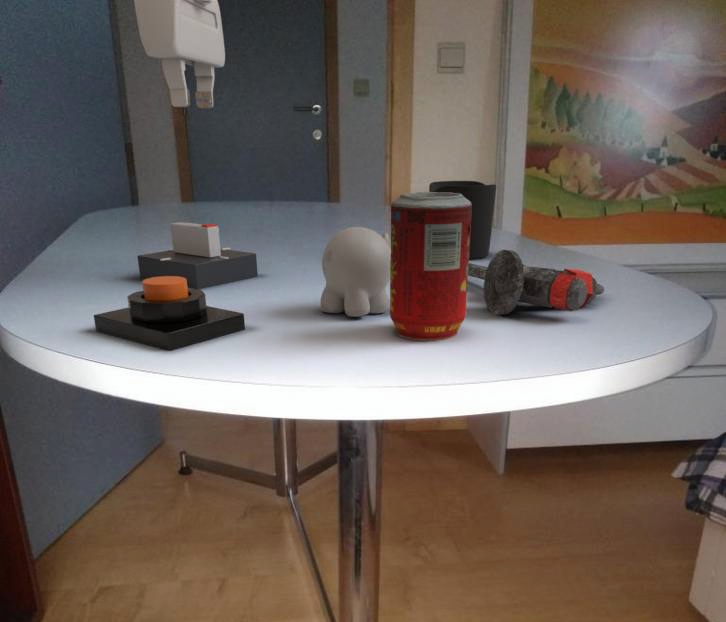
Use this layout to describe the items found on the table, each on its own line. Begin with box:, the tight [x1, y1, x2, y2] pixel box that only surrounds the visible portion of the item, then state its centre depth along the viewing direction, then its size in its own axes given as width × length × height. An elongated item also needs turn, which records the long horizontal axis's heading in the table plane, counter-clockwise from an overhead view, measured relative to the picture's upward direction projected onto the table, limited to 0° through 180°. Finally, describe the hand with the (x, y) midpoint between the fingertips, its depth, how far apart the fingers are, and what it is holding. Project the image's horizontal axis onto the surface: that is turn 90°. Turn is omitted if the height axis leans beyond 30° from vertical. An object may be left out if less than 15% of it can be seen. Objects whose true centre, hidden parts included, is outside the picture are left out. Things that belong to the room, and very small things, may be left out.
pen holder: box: [428, 180, 497, 261], centre depth 104 cm, size 9×9×10 cm
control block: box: [93, 288, 246, 352], centre depth 68 cm, size 11×9×4 cm
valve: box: [468, 249, 605, 316], centre depth 81 cm, size 6×26×15 cm
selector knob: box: [169, 221, 221, 258], centre depth 90 cm, size 7×2×4 cm, turn 52°
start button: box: [141, 276, 189, 301], centre depth 67 cm, size 4×4×2 cm
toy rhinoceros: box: [319, 226, 391, 318], centre depth 75 cm, size 7×12×8 cm, turn 133°
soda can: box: [389, 191, 472, 342], centre depth 65 cm, size 7×7×12 cm
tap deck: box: [137, 247, 259, 290], centre depth 91 cm, size 11×11×3 cm
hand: (193, 107), depth 85 cm, fingers open, 8 cm apart
